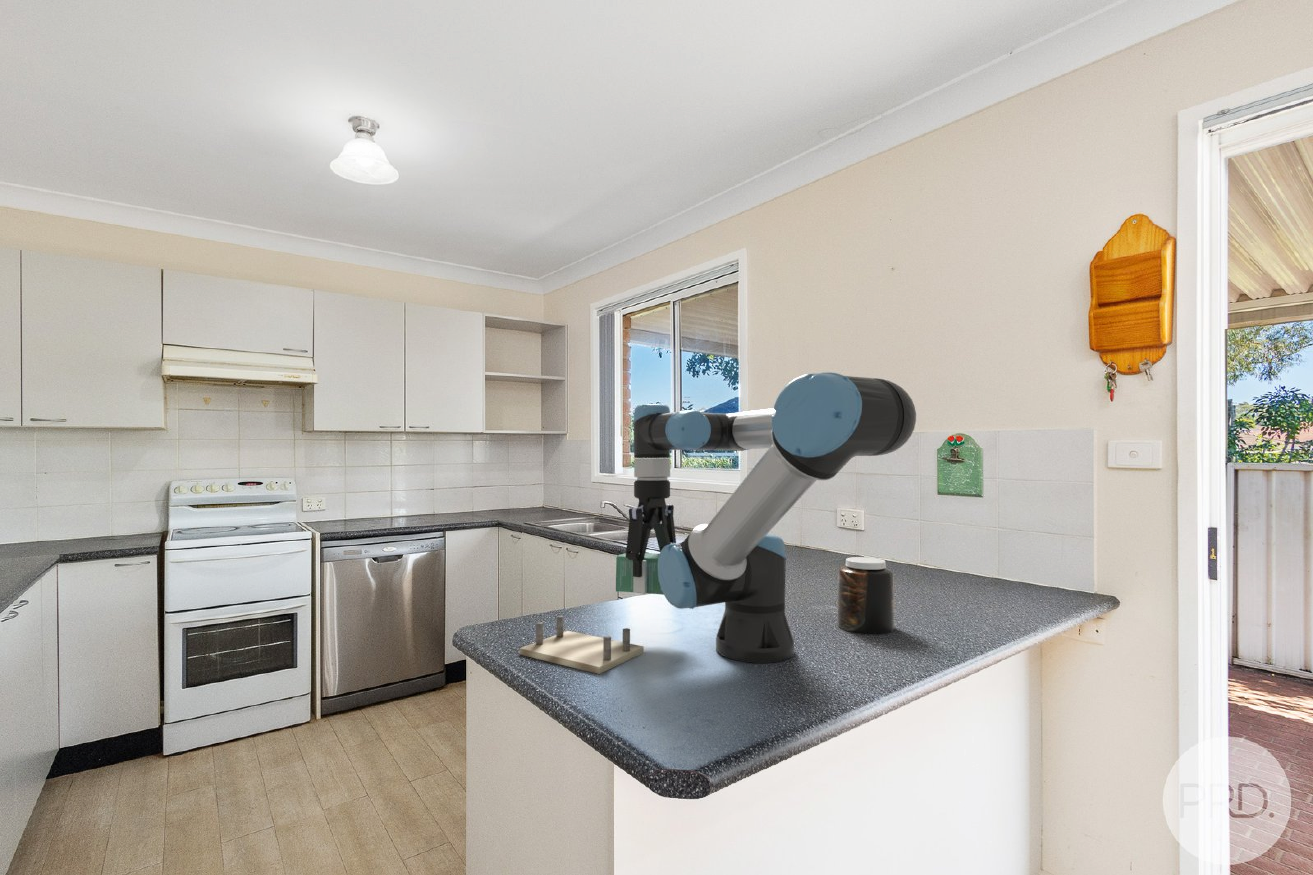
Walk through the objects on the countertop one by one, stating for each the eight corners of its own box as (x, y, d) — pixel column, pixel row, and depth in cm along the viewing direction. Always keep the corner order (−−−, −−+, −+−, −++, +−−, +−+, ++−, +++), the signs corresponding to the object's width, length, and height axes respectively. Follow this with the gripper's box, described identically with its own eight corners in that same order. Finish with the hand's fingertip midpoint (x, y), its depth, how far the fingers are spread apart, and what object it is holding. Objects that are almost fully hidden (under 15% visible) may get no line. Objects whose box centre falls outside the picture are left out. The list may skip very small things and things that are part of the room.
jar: (875, 638, 133) (875, 566, 133) (827, 626, 142) (827, 559, 142) (903, 628, 141) (903, 560, 141) (856, 617, 150) (856, 553, 150)
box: (679, 596, 126) (679, 558, 126) (615, 593, 129) (615, 556, 130) (688, 589, 133) (687, 553, 133) (626, 586, 136) (626, 551, 137)
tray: (643, 652, 123) (643, 625, 123) (599, 674, 111) (599, 644, 111) (567, 636, 133) (568, 611, 133) (519, 654, 121) (520, 627, 121)
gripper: (663, 477, 143) (663, 578, 142) (606, 480, 125) (606, 596, 124) (692, 478, 139) (693, 582, 138) (638, 480, 121) (638, 600, 120)
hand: (652, 588), depth 131 cm, fingers closed on box, 8 cm apart
